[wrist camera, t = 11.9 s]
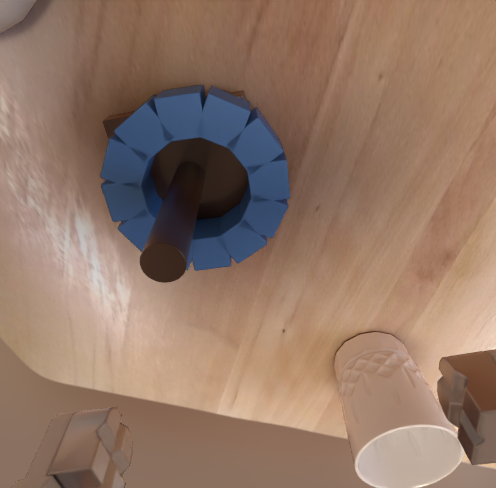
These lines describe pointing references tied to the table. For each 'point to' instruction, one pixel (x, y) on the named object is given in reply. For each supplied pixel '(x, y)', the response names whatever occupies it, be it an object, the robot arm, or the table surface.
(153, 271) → the post
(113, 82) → the table surface
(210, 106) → the ring
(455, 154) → the table surface
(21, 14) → the donut
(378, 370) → the white cup
